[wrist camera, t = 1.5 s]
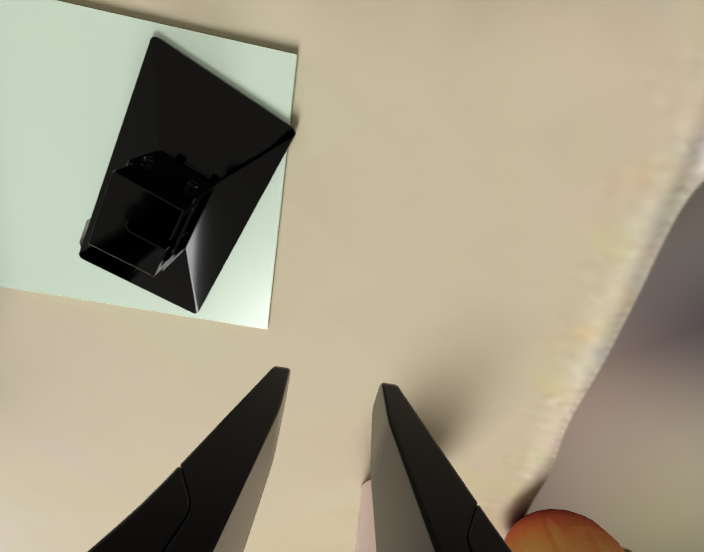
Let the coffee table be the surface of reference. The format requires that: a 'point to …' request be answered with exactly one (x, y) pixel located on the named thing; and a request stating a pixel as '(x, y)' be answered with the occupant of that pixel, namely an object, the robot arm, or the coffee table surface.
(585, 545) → the apple
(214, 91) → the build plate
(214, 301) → the base plate
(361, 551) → the smoothie
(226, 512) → the robot arm
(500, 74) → the coffee table surface
